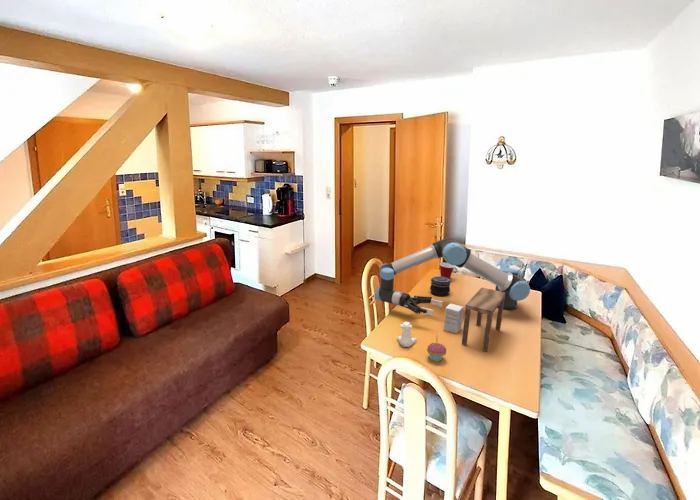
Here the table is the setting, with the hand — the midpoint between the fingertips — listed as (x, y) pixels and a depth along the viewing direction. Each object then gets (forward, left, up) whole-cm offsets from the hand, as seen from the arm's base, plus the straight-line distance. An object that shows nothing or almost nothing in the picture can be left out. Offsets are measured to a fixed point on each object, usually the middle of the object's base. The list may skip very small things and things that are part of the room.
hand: (438, 308), depth 202 cm
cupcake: (+12, +33, -10) cm, 37 cm away
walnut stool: (-18, +15, -9) cm, 26 cm away
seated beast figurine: (+22, +19, -10) cm, 31 cm away
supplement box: (-7, +6, -10) cm, 13 cm away
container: (-17, -44, -10) cm, 48 cm away
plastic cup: (-30, -68, -10) cm, 75 cm away
